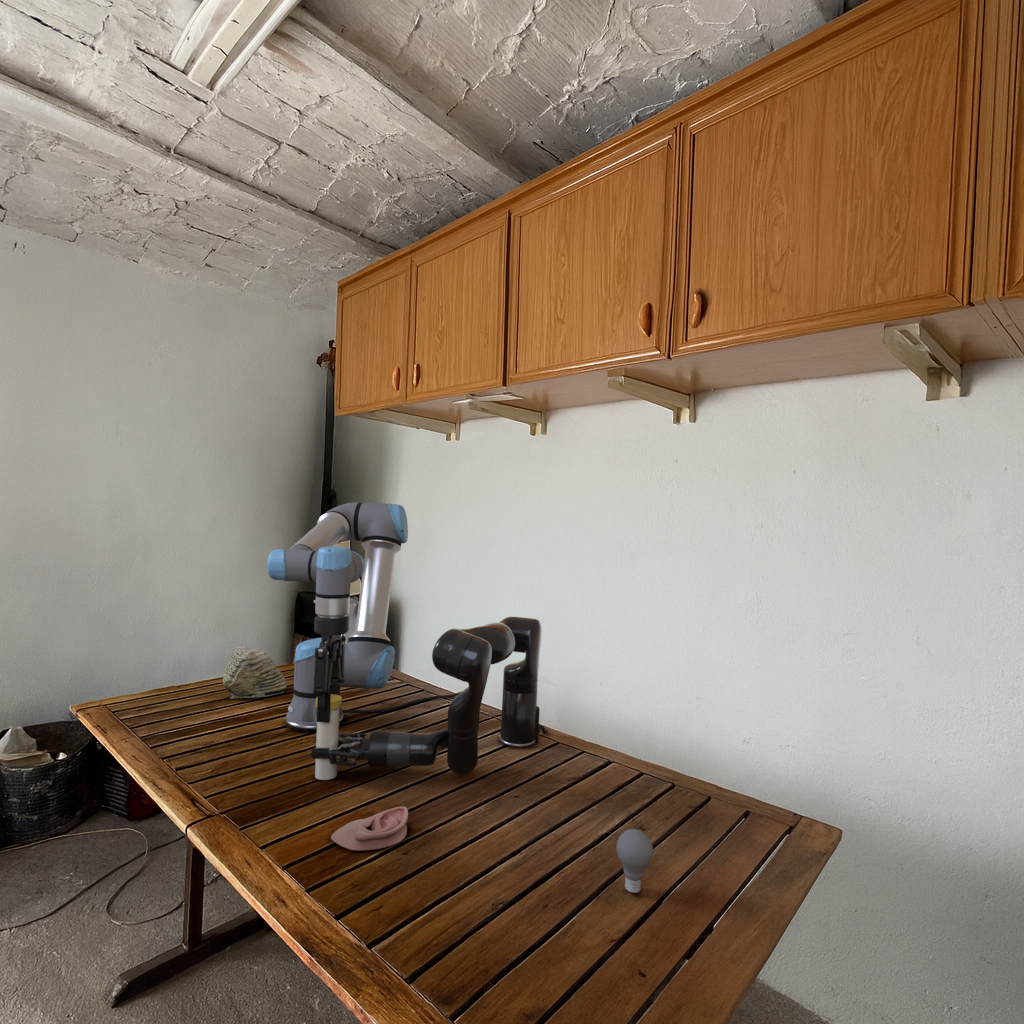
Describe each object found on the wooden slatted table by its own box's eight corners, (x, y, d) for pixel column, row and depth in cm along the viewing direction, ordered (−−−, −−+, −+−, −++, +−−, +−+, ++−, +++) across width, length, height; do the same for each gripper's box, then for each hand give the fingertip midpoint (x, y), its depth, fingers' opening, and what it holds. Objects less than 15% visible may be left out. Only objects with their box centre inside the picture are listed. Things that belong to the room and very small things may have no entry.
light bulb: (610, 879, 108) (613, 822, 108) (644, 879, 109) (647, 822, 109) (619, 902, 102) (622, 840, 102) (655, 901, 103) (658, 840, 103)
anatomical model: (323, 824, 115) (352, 795, 126) (322, 845, 115) (351, 815, 126) (392, 835, 112) (415, 805, 123) (391, 857, 112) (414, 825, 123)
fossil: (218, 695, 195) (220, 647, 195) (278, 685, 208) (279, 640, 207) (228, 703, 189) (230, 653, 188) (289, 692, 201) (290, 645, 201)
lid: (328, 711, 140) (328, 703, 140) (310, 706, 143) (310, 698, 143) (346, 704, 145) (347, 697, 145) (329, 699, 148) (329, 692, 148)
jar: (327, 769, 147) (330, 696, 147) (341, 774, 145) (344, 701, 144) (310, 775, 143) (313, 701, 143) (324, 782, 141) (327, 706, 140)
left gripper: (330, 607, 153) (326, 702, 153) (299, 622, 134) (295, 730, 135) (360, 609, 152) (357, 704, 153) (334, 624, 134) (330, 732, 134)
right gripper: (394, 721, 152) (322, 720, 151) (387, 745, 138) (307, 744, 136) (393, 752, 152) (321, 752, 151) (386, 779, 138) (306, 778, 137)
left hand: (328, 716), depth 144 cm, fingers closed on lid, 6 cm apart
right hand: (315, 748), depth 144 cm, fingers closed on jar, 5 cm apart
